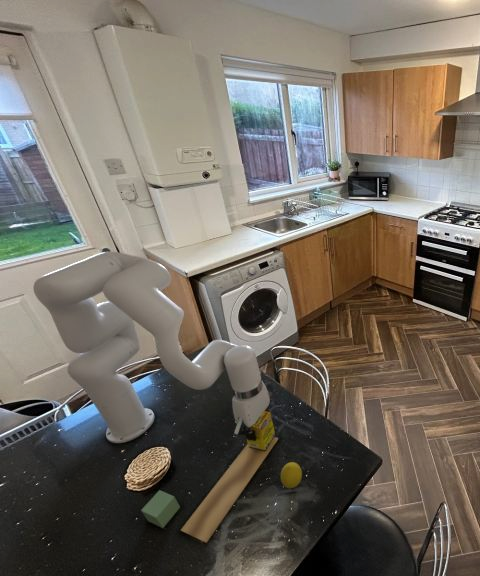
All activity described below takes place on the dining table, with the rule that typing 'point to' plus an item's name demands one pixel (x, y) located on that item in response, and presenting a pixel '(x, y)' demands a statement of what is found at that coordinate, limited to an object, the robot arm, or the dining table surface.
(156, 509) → the green block
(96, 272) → the robot arm
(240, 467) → the wooden strip
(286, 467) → the lemon
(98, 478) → the dining table surface
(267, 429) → the supplement box
